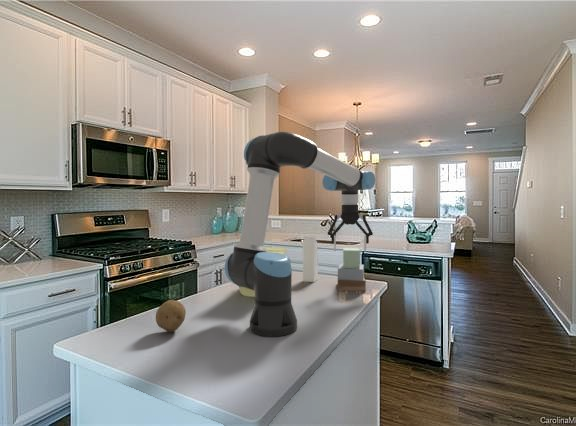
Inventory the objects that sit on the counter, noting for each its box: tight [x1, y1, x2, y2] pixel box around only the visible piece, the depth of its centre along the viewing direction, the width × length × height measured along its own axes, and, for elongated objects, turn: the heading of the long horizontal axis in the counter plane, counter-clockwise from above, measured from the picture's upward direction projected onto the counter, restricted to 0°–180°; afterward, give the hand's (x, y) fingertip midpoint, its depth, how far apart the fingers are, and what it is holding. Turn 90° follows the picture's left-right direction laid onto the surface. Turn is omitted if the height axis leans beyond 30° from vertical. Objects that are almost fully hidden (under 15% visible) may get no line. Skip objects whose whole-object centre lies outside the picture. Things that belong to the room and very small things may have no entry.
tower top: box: [337, 263, 365, 281], centre depth 157 cm, size 11×11×5 cm
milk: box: [302, 236, 319, 283], centre depth 171 cm, size 6×6×22 cm
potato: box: [155, 299, 186, 333], centre depth 106 cm, size 9×9×10 cm
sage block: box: [342, 247, 361, 268], centre depth 157 cm, size 7×7×8 cm
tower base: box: [337, 277, 367, 292], centre depth 158 cm, size 12×12×5 cm
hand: (349, 250), depth 157 cm, fingers open, 13 cm apart
